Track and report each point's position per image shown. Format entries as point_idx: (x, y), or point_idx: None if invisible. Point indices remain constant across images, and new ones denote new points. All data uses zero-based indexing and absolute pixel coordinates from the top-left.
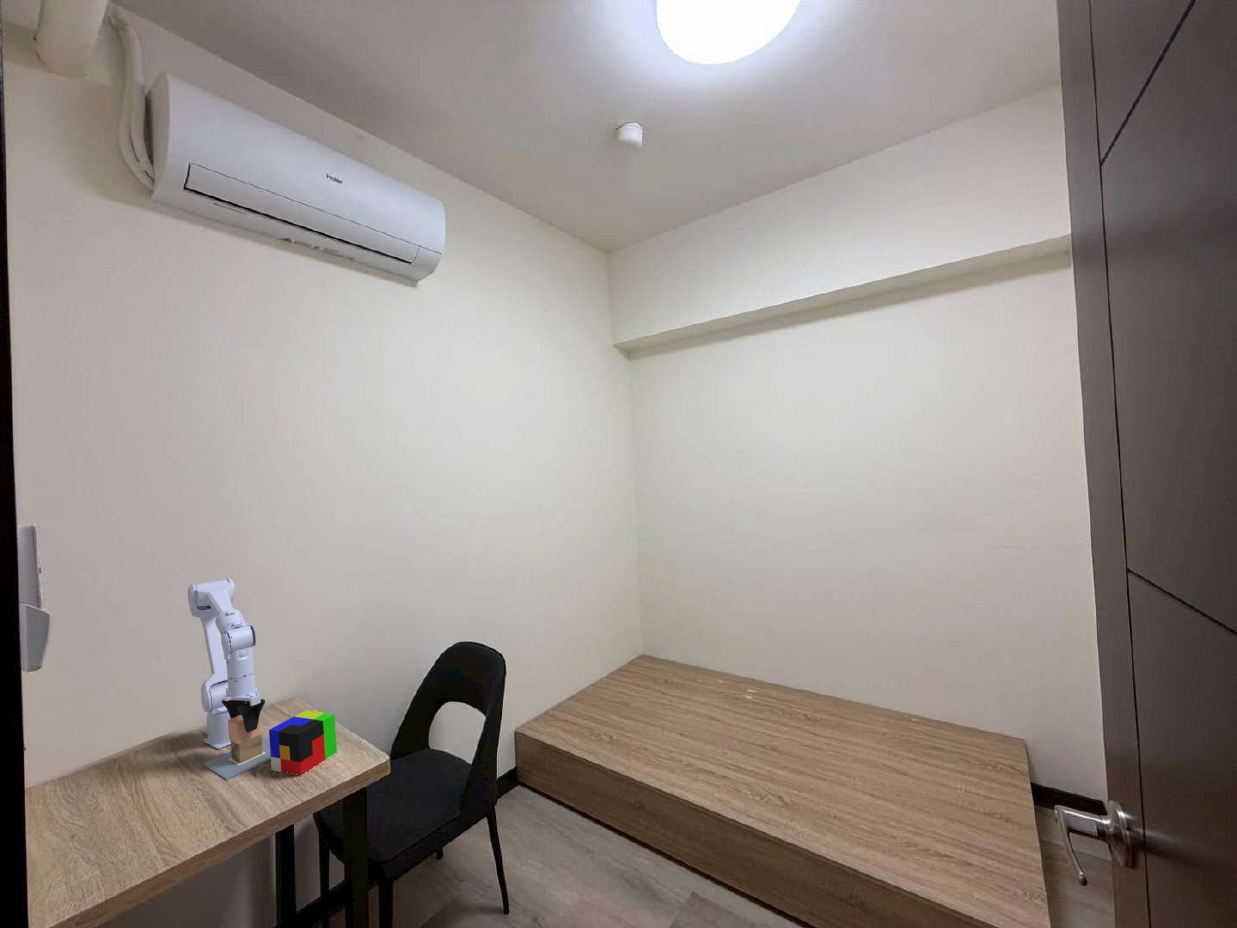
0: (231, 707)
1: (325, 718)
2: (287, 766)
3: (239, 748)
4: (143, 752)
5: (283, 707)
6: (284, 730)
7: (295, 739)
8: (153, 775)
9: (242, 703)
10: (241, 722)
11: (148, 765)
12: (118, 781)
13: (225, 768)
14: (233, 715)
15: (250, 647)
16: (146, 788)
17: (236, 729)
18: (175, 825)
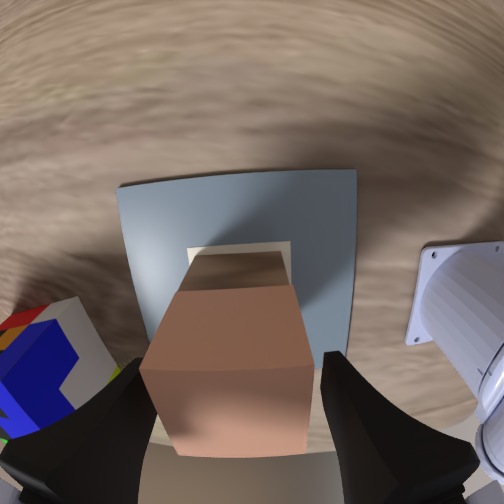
0: (366, 453)
1: None
2: (25, 317)
3: (182, 284)
4: None
5: (451, 410)
6: None
7: None
8: (432, 59)
9: (349, 486)
10: (150, 392)
11: (501, 94)
12: (469, 18)
13: (210, 207)
14: (344, 402)
15: None
16: (350, 7)
17: (154, 341)
18: (18, 53)
